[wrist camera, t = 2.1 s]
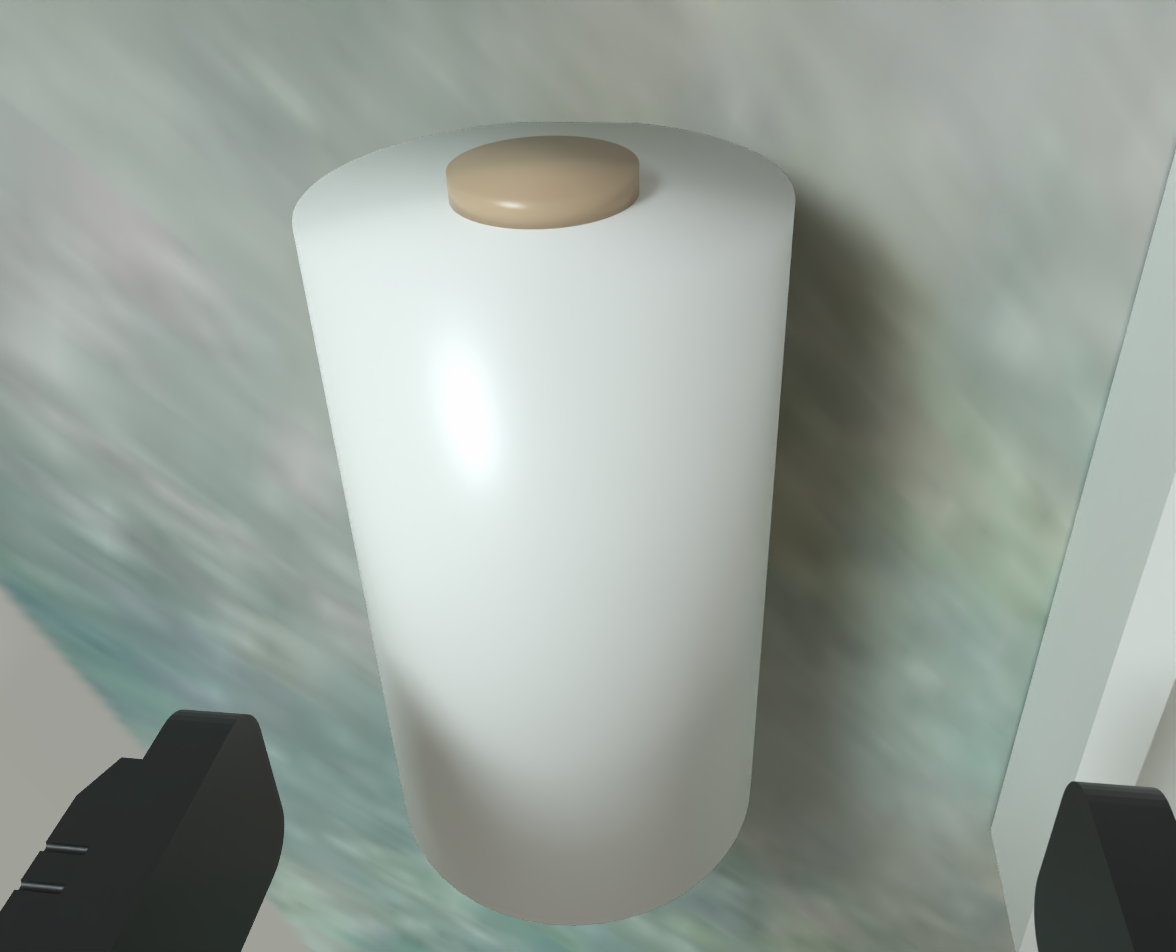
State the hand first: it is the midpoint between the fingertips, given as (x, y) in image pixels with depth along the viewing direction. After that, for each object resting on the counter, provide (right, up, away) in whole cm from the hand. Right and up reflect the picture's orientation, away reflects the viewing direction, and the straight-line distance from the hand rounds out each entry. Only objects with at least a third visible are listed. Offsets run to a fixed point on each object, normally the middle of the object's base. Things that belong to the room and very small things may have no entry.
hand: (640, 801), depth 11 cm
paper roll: (+1, +4, +5) cm, 6 cm away
